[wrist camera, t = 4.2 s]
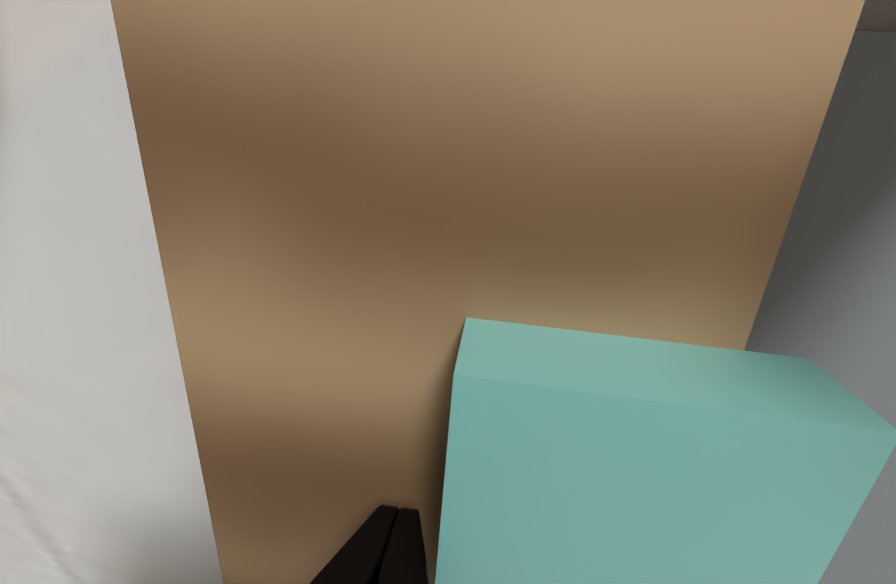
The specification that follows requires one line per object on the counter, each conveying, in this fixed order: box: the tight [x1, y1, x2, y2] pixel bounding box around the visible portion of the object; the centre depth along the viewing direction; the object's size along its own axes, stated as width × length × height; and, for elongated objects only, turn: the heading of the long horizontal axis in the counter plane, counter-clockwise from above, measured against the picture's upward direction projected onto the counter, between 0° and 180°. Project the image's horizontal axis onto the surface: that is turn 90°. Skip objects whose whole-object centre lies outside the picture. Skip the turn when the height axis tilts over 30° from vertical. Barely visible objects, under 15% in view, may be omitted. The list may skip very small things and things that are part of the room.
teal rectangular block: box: [435, 317, 896, 584], centre depth 9 cm, size 9×6×2 cm, turn 176°
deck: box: [111, 0, 865, 584], centre depth 12 cm, size 20×11×4 cm, turn 177°
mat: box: [744, 30, 896, 584], centre depth 12 cm, size 20×10×1 cm, turn 177°
